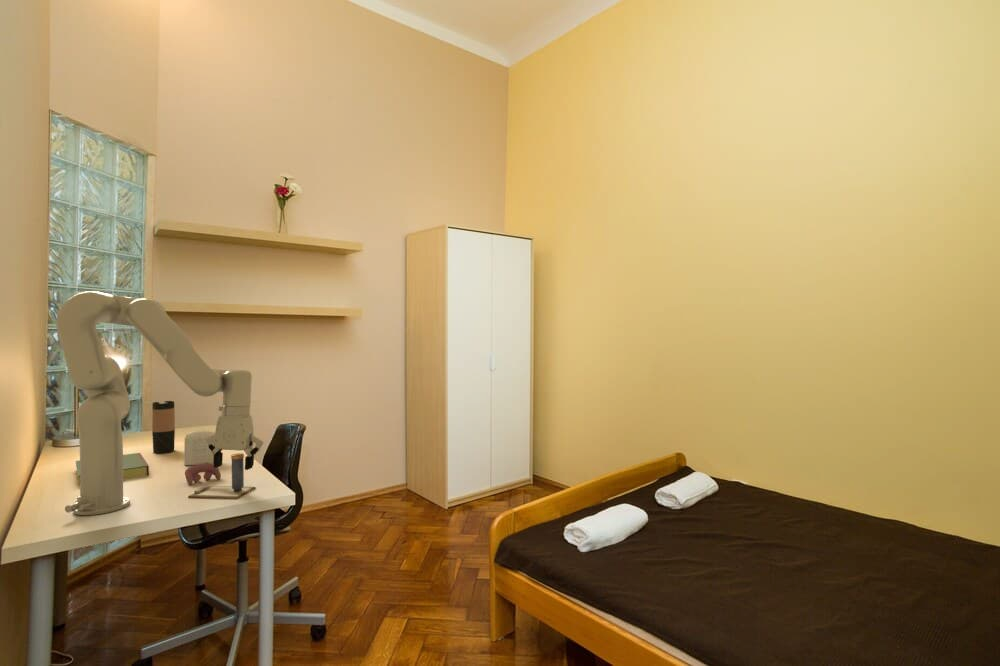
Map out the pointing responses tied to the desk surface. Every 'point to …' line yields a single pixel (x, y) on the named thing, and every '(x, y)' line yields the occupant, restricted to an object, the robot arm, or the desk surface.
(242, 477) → the marker
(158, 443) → the travel mug
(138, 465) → the hardcover book
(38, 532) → the desk surface
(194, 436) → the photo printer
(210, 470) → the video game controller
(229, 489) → the clipboard
